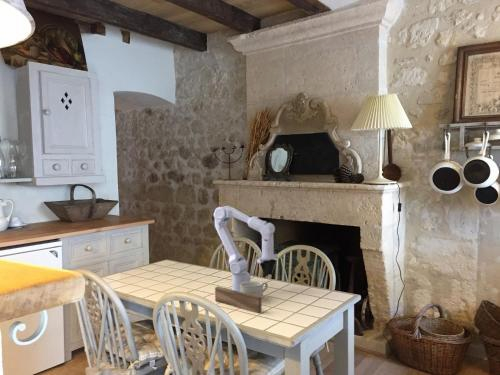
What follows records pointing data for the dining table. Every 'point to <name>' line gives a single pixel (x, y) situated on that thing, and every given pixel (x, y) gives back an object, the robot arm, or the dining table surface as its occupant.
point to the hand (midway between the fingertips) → (268, 275)
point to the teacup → (253, 287)
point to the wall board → (238, 299)
